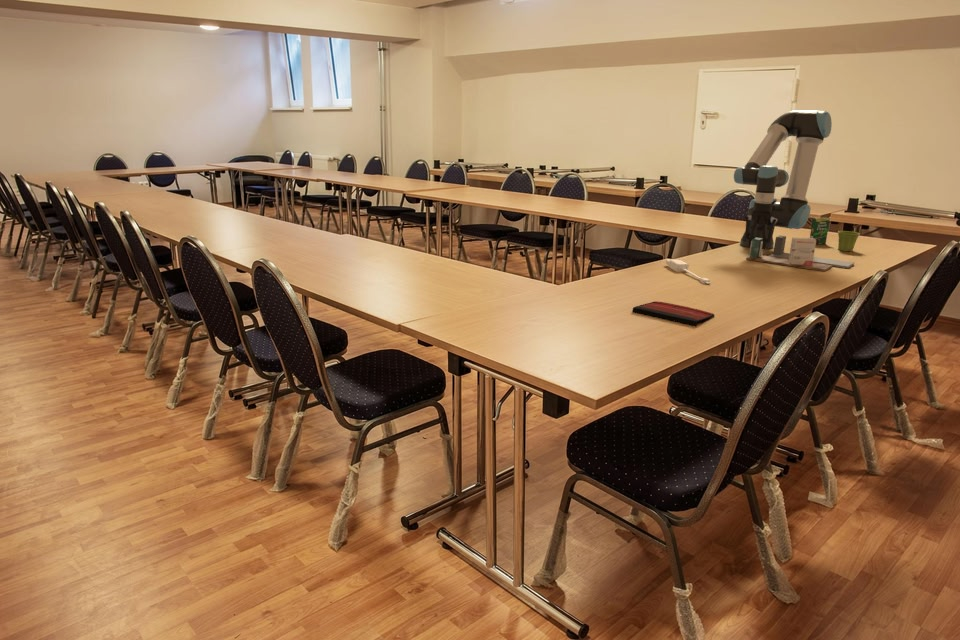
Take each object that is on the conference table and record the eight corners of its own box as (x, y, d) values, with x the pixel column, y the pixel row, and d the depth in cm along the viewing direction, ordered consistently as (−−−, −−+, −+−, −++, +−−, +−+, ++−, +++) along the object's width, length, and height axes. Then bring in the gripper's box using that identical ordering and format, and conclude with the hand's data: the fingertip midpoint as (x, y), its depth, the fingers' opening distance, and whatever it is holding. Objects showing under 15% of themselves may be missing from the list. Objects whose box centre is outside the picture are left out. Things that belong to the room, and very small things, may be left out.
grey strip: (769, 256, 298) (772, 237, 295) (777, 253, 306) (780, 234, 303) (847, 268, 278) (851, 247, 276) (854, 264, 286) (857, 244, 284)
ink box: (809, 264, 283) (813, 237, 280) (812, 267, 279) (817, 239, 275) (787, 263, 285) (791, 236, 281) (790, 266, 280) (794, 238, 277)
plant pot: (838, 247, 325) (842, 230, 322) (859, 250, 318) (862, 233, 315) (831, 250, 318) (834, 232, 316) (852, 253, 312) (855, 235, 309)
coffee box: (811, 244, 332) (816, 218, 328) (808, 243, 335) (812, 217, 331) (826, 244, 333) (830, 218, 329) (822, 243, 336) (826, 217, 332)
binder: (696, 320, 195) (632, 306, 208) (695, 328, 195) (631, 314, 208) (717, 312, 207) (655, 299, 220) (716, 319, 207) (654, 306, 220)
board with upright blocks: (746, 259, 291) (748, 239, 288) (754, 255, 299) (757, 236, 296) (824, 271, 271) (828, 250, 269) (831, 267, 279) (835, 246, 277)
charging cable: (701, 287, 246) (703, 279, 245) (664, 265, 276) (665, 257, 275) (714, 287, 247) (715, 278, 246) (675, 265, 277) (676, 257, 276)
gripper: (741, 201, 289) (734, 254, 296) (780, 205, 279) (772, 259, 286) (747, 199, 294) (740, 251, 301) (786, 203, 284) (777, 257, 291)
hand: (755, 255), depth 293 cm, fingers open, 3 cm apart
